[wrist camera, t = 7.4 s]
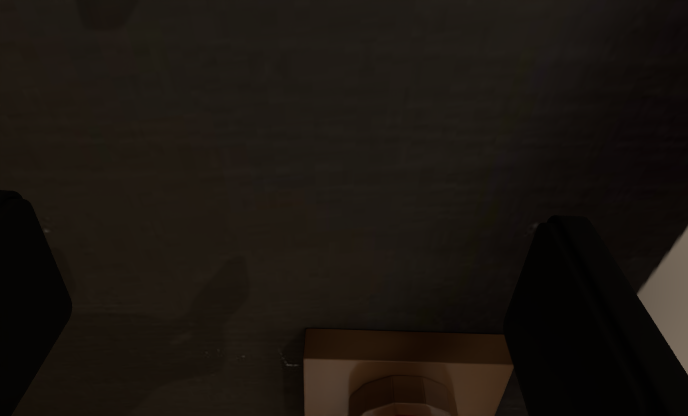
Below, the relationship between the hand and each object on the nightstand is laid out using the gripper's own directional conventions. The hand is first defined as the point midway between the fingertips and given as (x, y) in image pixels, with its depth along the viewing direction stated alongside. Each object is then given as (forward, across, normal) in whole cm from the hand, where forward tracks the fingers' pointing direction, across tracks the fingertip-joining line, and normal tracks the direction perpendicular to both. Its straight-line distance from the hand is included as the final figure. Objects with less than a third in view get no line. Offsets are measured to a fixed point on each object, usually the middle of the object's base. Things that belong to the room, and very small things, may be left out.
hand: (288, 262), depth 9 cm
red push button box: (+12, -5, +21) cm, 25 cm away
